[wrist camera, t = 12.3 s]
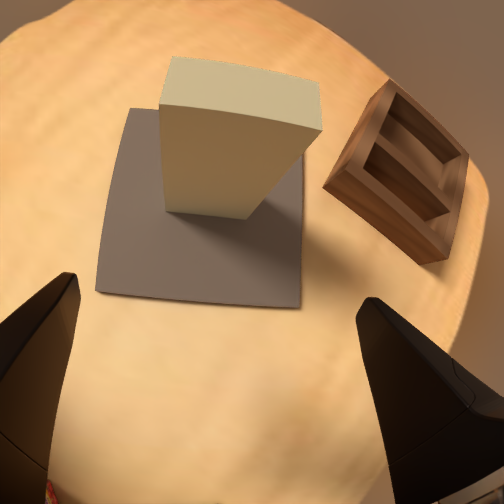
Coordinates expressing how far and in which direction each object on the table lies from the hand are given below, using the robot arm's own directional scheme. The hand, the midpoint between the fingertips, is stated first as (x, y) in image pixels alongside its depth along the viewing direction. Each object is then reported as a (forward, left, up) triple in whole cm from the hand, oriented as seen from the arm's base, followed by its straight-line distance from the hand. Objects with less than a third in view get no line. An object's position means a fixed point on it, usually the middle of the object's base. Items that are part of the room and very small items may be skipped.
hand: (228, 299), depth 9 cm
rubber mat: (+7, -2, -14) cm, 16 cm away
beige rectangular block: (+7, -2, -13) cm, 15 cm away
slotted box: (+9, -21, -14) cm, 27 cm away
